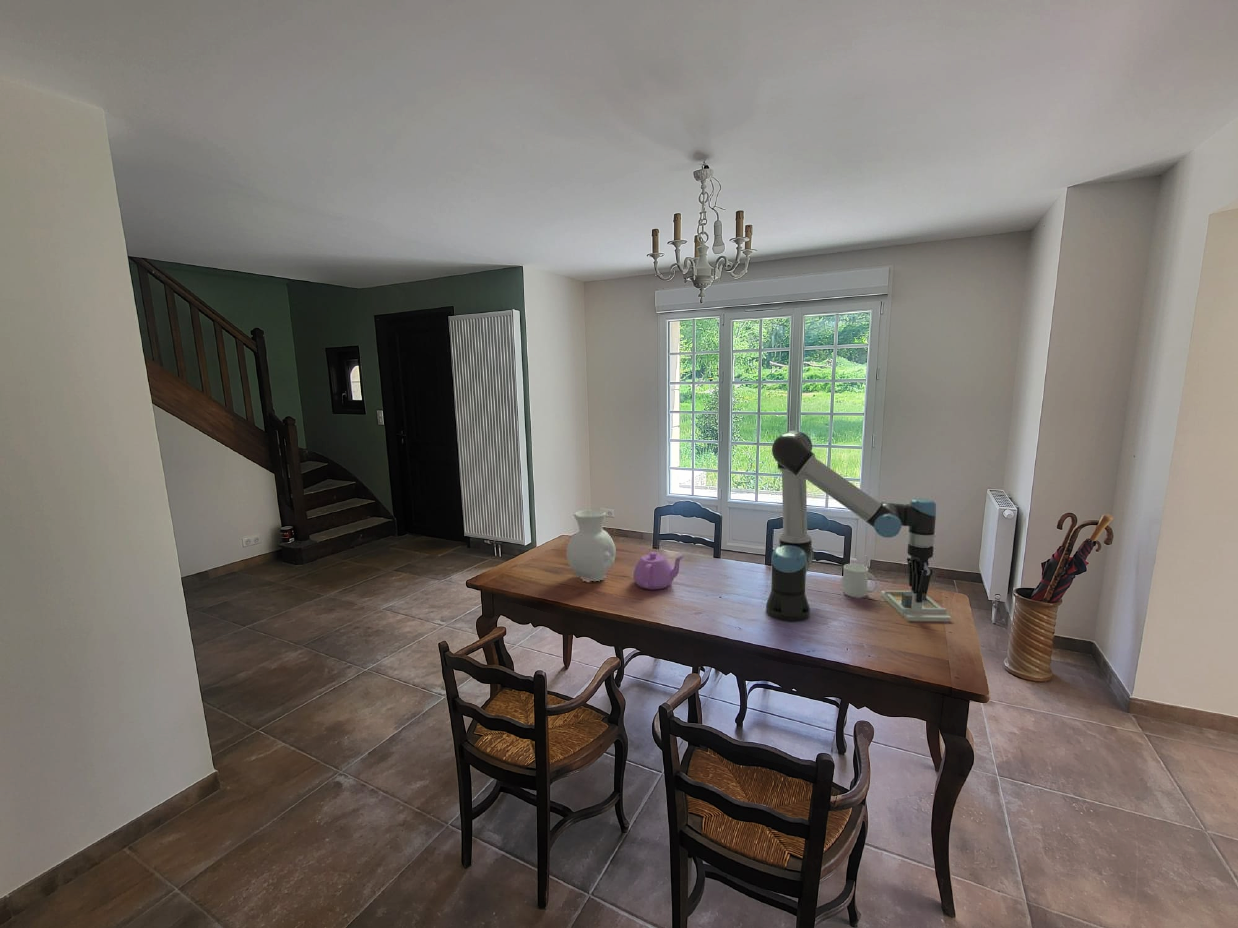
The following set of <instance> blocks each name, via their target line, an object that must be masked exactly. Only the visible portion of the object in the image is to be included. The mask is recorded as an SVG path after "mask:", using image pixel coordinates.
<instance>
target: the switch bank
mask: <svg viewBox="0 0 1238 928" xmlns="http://www.w3.org/2000/svg"><path fill="white" fill-rule="evenodd" d="M902 592H911V590H888V589H887V590H881V591H880V595H881V596H882V598H884V599H885V601H886V602H888V603H889V604H890V605H891V606H892V607H893V608H894V609H895V611H897V612H898V613H899V614H900V615H901V616H902V617H903V618H904V619H905V620H906V621H907V622H945V623H946V622H952V617H951V616H950V615H949V614H948V613H947V608H945V607H942V606H940V605H939V604H938V603H937V602H936V601H934V600H933V599H932V598H931V597H929V595H927V596H926V600H922V611H913V610H912V609H911V608H905V607H904V606H902V605H901V601H902Z"/></svg>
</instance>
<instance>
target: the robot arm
mask: <svg viewBox="0 0 1238 928" xmlns="http://www.w3.org/2000/svg"><path fill="white" fill-rule="evenodd" d="M812 443H813V442H812V441H811V438H810V437H809V435H808V434H806V433H805V432H803V431H800V430H790V431H787V432H785V433H783V434H781V435H780V436H778V437H777V438H776V439H775V440H774V442H773V444H772V446H771V447H772V448H771V454H772V457H773V459H774V460H775V461H776V462H777V463H776V464H777V470H778V469H779V471H780V472H781V486H782V487H781V489H782V491H781V493H782V496H781V497H782V529H783V530H782V531H783V532H782V534H781V535H780V536H779V539H778V542H779V543H778V544H779V546H778V547H776V548H774V549H773V551H772V553H771V556H770V557H771V558H770V560H771V588H770V592H769V596H768V598H767V601H766V604H765V605H766V606H765V610H766V614H767V615H769V616H771V617H772V618H775V619H777V620H781V621H785V622H802V621H804V620H806V619H809V618H810V615H811V608H810V605H809V600H808V599H807V598H808V597H807V594H806V578H807V572H808V570H809V568H810V566H811V565H812V564H813V562H814V559H815V557H814V556H815V555H814V552H815V551H814V549H813V546H812V542H813V541H812V537H811V536H810V534H808V514H807V513H808V512H807V511H808V510H807V509H808V508H807V503H808V502H807V499H808V498H807V481H808V482H810V483H811V484H812V485H813V486H815V487H817V488H818V489H819V490H821V491H822V492H823V493H825V494H826V495H828V496H829V497H830V498H832V499H833V500H835V501H836V502H837V503H839V504H841V505H842V506H843V507H845V508H846V509H848V510H849V511H850V512H852V513H853V514H855V515H856V516H857V517H859V518H860V519H862V520H863V521H865V522H866V523H867V524H868V525H870V526H872V527H873V529H874V531H875V532H876V533H877V534H878V536H880V537H883V538H886V539H890V538H894V537H896V536H897V535H898V534H899V533H900V531H901V529H902V527H908V535H907V542H908V544H907V550H906V551H907V553H906V554H908V555H909V556H910V557H907V558H906V561H907V570H908V586H909V587H910V588H911V589H912V590H913V591H912V607H911V609H912V610H913V611H922V598H923V594H928V590H929V586H930V581H931V576H932V575H933V570H932V569H930V568H929V559H931V558H933V557H934V548H935V547H934V544H935V543H934V542H935V537H936V535H935V531H936V521H937V518H936V517H937V503H936V502H935V500H932V499H928V498H912V499H911V500H910V501H909V503H907V504H905V503H895V502H893V503H892V502H884V501H881V502H879V501H878V500H876V499H875V498H873V497H872V496H871V495H869V494H868V493H866V492H865V491H864V490H862V489H860V488H859V487H858V486H856V485H855V484H853V483H852V482H850V481H849V480H848V479H846V478H845V477H844V476H841V474H839V473H837V472H836V470H835V471H834V470H833V469H832V468H831V467H829V466H828V465H826V464H825V463H823V462H821V461H820V460H819V459H817V458H816V454H815V453H814V452H813V451H812V450H813V444H812Z"/></svg>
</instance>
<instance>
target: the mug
mask: <svg viewBox="0 0 1238 928" xmlns="http://www.w3.org/2000/svg"><path fill="white" fill-rule="evenodd" d="M842 573H843V579H842V592H843V593H844V594H845V595H846V596H848V597H851V598H857V599H858V598H859V599H860V598H865V597H866V596H867V595H868V594H872V593H874V592H875V591H876V590H877V587H878V581H877V579H876V577H875V576H874V575H873V574H871V573H870V572H869V567H867V566H866V565H863V564H858V563H846V564H844V565H843V572H842ZM868 579H871V580H873V581H874V583H875V587H874V588H869V587H868V584H869V583H868V581H869V580H868Z"/></svg>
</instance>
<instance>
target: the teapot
mask: <svg viewBox="0 0 1238 928" xmlns="http://www.w3.org/2000/svg"><path fill="white" fill-rule="evenodd" d="M648 553H649V554H644V555H642V556H641V557H640V558H639V559H638V562H637V563H636V565H635V568H634V571H633V576H632V577H633V581H634V582H635V584H637V586H639V587H640V588H642V587H643V588H642V589H645V588H646V589H645V590H661V589H665V588H668V587H669V586H670V585H671V584H672V583H673V581H674V580H675V578H676V577H677V576H678V575H679V572H680V562H681V560H682V559H683V558H684V557H685V556H684V555H681V556H679V557H676V558H675V559H674V566H673V567H672V565H671V564H670V562H669V561H668V559H667V558H666V556H665V555H662V553H661V552H656V551H651V552H650V551H649V552H648Z"/></svg>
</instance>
